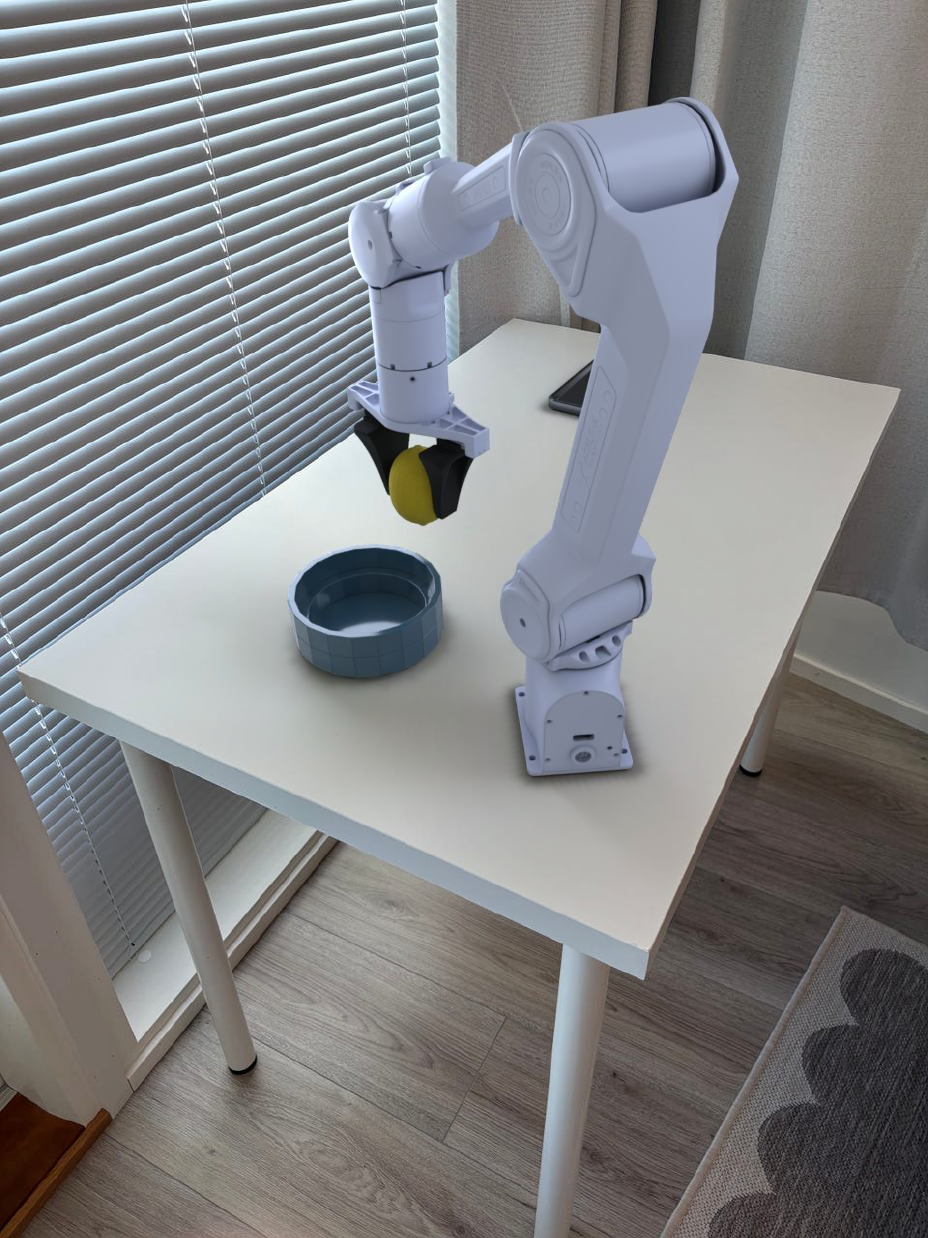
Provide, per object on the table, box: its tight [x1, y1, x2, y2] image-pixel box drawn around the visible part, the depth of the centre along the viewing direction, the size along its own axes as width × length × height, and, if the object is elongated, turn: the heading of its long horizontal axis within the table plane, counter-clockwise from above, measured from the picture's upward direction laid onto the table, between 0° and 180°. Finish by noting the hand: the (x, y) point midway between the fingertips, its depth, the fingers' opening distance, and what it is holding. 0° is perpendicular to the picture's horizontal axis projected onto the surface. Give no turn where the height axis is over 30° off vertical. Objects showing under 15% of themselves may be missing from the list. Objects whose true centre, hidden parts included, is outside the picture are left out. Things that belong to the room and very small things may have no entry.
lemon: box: [389, 444, 440, 527], centre depth 83 cm, size 6×6×8 cm
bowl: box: [287, 543, 445, 678], centre depth 84 cm, size 13×13×5 cm
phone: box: [548, 358, 594, 417], centre depth 121 cm, size 8×1×15 cm
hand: (421, 502), depth 84 cm, fingers closed on lemon, 5 cm apart
